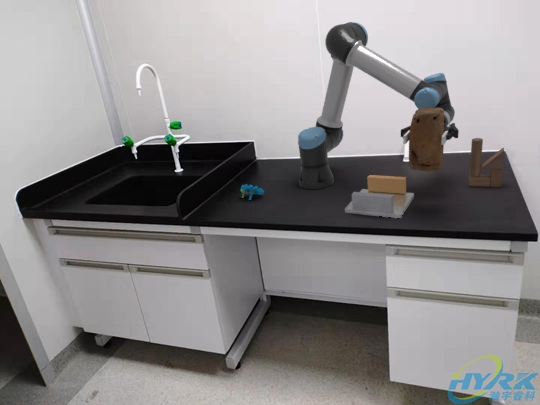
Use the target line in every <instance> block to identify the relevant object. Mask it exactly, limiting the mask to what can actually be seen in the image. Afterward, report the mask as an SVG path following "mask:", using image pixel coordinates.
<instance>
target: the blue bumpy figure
mask: <svg viewBox="0 0 540 405" xmlns="http://www.w3.org/2000/svg"><path fill="white" fill-rule="evenodd" d="M240 192H241V194H242V196H241V198H243V199H244V197H245V195H249V198H248V201H249V200H251V201H252V198H253V196H254V194H255V195H257V194H258V196H260V195H264V193H265V191H264V190H263V188H262V187H260V188H259V186H257V185H255V186H254V185H253V184H247V183H245V184H242V185H241V187H240Z"/></svg>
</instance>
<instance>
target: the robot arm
mask: <svg viewBox="0 0 540 405" xmlns="http://www.w3.org/2000/svg"><path fill="white" fill-rule="evenodd" d="M367 31H368V30H367V29H366V28H365V27H364V26H363V25H362V24H361V23H359V22H356V21H355V22H352V21H348V22H346V23H341V24H337V25H334V26H333V27H331V28H330V29H329V31H328V32H327V34H326V37H325V47H326V50H327V52H328V54H330V58H331V59H332V61H333V62H332V66H331V70H330V75H329V80H328V84H327V88H326V93H325V97H324V102H323V107H322V111H321V115H320V116H318V117H317V119H316V123H315V125H314V126H312V127H308V128H306V129H305V128H304V129H303V130H301V131H299V133H298V137H297V141H298V142H297V144H298V150H299V157H300V158H299V159H300V164H301V165H300V173H299V177H298V185H299V186H300V188H303V189H306V190H318V189H319V190H320V189H324V188H327V187H330V186H331V185H333V184H334V182H335V180H334V178H335V177H334V174H333V173H332V170H331V168H330V166H329V158H328V153H330V152H331V151H333V150H334V149H335V148H337V147H338V146H339V145H340V143H341V142H342V141H343V138H344V130H343V126H344V122H342V120H341V119H342V115H343V111H344V107H345V104H346V99H347V95H348V91H349V88H350V83H351V79H352V74H353V70H354V68H357V69H358V70H360V71H362V72H363V73H365V74H367V75H368V76H370V77H371V78H373V79H375V80H377V81H378V82H380V83H382V84H383V85H385V86H387V87H388V88H390V89H391V90H394V91H395V92H397V93H399V95H402V96H404V97H405V98H406V99H408V100H410V101H412V102H413V103H414V105H415V107H416V108H417V110H418V109H419V108H429V107H430V108H442V109H443V111H444V134H443V135H442V143H441V145H445V144H446V142H447V141H448V140H449V141H450V140H451V139H453V138H454V139H458V138H459V128H457V126H456V123H455V122H452V121H453V120H454V117H455V114H456V113H455V108H454V106H453V105H452V102H451V99H450V94H449V90H448V83H447V82H448V81H447V79H446V75H445V73H443V72H438V73H434V74H431V75H428V76H425V77H424V78H423V79H421V78H419V77H418V76H416V75H415V74H413V73H411V72H409V71H408V70H406V69H404V68H402V66H399V65H398V64H396V63H395V62H392V61H391V60H389V59H388V58H385V57H384V56H382V55H380V54H378V53H377V52H376V51H373V50H372V49H370V48H368V47H367V45H368V41H369V35H368V32H367ZM451 122H452V123H451ZM410 127H411V125H408V126H406V127H404V128H401V129H400V138H402V140H403V144H404V145H406V144H407V143H409V135H410Z"/></svg>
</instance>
